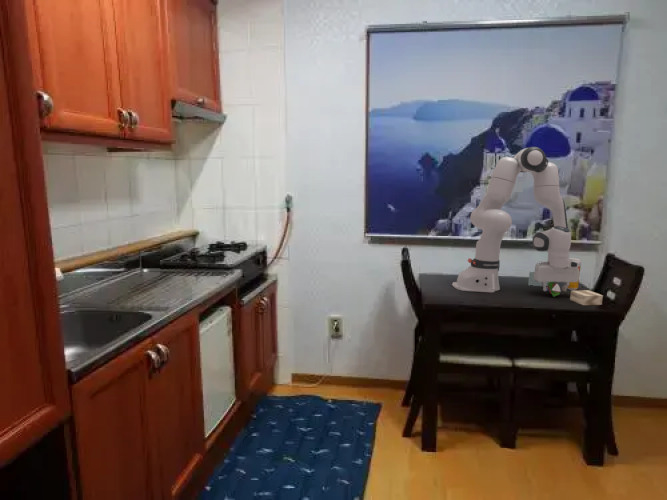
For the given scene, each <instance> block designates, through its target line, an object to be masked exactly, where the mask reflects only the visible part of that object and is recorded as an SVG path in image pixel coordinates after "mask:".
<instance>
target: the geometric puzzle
mask: <svg viewBox="0 0 667 500" xmlns="http://www.w3.org/2000/svg"><path fill="white" fill-rule="evenodd" d="M547 284H548V285H547V287H548V291H544V292H545V293H547V292H548V293H549V295H551V296H552V297H553V298H554V297H556V296H559V295H561V293H562V290H561V289H562V285H560V284H559V283H558V282H549V283H547Z"/></svg>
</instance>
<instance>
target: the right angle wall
mask: <svg viewBox="0 0 667 500" xmlns="http://www.w3.org/2000/svg"><path fill="white" fill-rule="evenodd" d="M534 272H535V271H530V270H529V274H528V275H529V276H528V282H527V283H528V286H530V285H533V286H532V287H543V285H542V283H541V282H537V281H535V280H534ZM547 283H549V282H547ZM547 283H546V284H545V285H546V286H547V285H548V284H547Z"/></svg>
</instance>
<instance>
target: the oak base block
mask: <svg viewBox="0 0 667 500" xmlns="http://www.w3.org/2000/svg"><path fill="white" fill-rule="evenodd" d="M603 297H604V294H603V295H602V294H600V293H598V292H594V291H592V290H590V289H589V290H588V289H587V290H585V289H584V290H583V289H582V290H570V297H569V301H572V302H575V303H577V304H580V305H582V306H600V305H603Z"/></svg>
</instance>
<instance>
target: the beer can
mask: <svg viewBox="0 0 667 500" xmlns="http://www.w3.org/2000/svg"><path fill="white" fill-rule="evenodd" d="M569 259H571V260H573V261H576V262H578V263H579V267H577V268H579V277H580V276H581V275H580V274H581V266H582V261H581V259H580V258H575V257H569ZM579 282H580V279H579V280H578V281H577V282H570V284H569V286H568V287H567V289H566V290H570V291H578V290H577V289H579V284H580V283H579Z"/></svg>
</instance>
